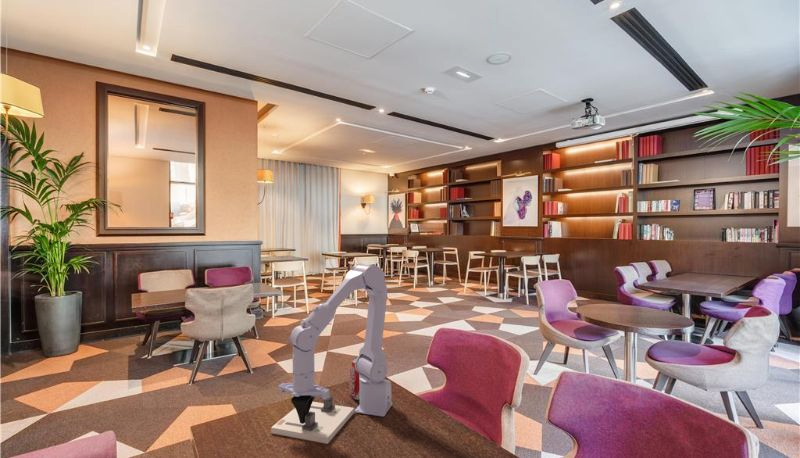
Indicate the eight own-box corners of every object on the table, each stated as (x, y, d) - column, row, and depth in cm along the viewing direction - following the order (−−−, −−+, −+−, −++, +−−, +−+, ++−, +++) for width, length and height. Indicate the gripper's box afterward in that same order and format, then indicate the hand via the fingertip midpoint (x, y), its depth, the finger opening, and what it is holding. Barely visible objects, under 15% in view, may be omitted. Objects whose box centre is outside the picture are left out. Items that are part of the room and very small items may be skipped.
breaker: (335, 407, 104) (334, 395, 104) (330, 412, 101) (330, 400, 101) (326, 405, 105) (326, 394, 105) (320, 410, 102) (320, 399, 102)
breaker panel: (354, 412, 104) (353, 407, 104) (327, 443, 89) (327, 437, 89) (304, 405, 109) (304, 400, 109) (271, 433, 94) (271, 427, 94)
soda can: (367, 402, 110) (367, 364, 111) (346, 400, 112) (346, 363, 112) (373, 392, 117) (373, 356, 118) (353, 391, 119) (353, 355, 119)
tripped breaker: (317, 424, 95) (317, 412, 95) (312, 430, 92) (311, 417, 92) (308, 423, 96) (308, 410, 96) (302, 428, 93) (302, 416, 93)
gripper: (271, 373, 93) (271, 425, 93) (319, 380, 89) (320, 434, 88) (287, 364, 100) (287, 412, 99) (333, 369, 95) (333, 419, 95)
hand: (303, 421), depth 94 cm, fingers closed
